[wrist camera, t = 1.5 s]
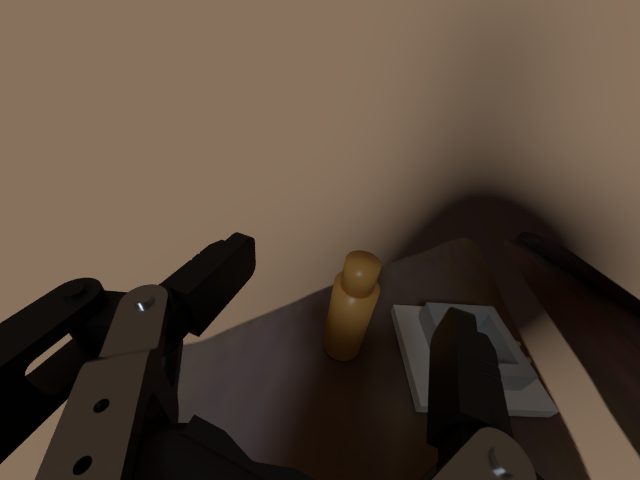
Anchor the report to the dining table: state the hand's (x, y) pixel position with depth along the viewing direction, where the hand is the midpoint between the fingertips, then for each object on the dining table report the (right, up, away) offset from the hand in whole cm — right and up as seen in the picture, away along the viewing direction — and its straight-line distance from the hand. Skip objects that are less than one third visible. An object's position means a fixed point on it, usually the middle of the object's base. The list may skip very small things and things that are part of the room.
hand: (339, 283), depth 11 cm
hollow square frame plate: (+16, -12, +21) cm, 29 cm away
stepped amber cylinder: (+2, -10, +21) cm, 23 cm away
